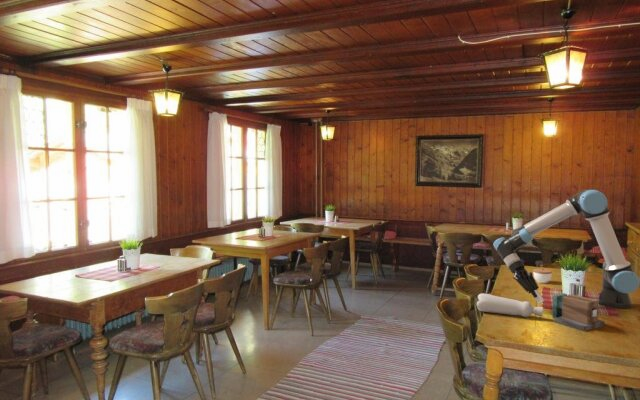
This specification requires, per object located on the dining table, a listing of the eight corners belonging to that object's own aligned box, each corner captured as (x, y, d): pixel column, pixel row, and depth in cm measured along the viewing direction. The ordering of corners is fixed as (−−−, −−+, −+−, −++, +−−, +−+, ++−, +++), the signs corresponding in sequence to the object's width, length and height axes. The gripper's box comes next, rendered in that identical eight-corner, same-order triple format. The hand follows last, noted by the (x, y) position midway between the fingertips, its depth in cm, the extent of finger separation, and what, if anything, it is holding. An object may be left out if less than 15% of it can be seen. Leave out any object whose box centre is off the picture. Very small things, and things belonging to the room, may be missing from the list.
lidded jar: (550, 285, 291) (551, 270, 290) (531, 282, 296) (532, 268, 296) (552, 281, 300) (552, 267, 299) (534, 279, 305) (534, 265, 305)
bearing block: (575, 317, 227) (576, 293, 226) (604, 325, 215) (605, 300, 214) (554, 322, 219) (555, 297, 218) (583, 331, 207) (584, 304, 206)
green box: (562, 315, 228) (563, 293, 228) (599, 325, 213) (600, 302, 212) (552, 317, 225) (553, 295, 224) (589, 328, 209) (590, 304, 208)
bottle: (475, 307, 232) (541, 318, 218) (478, 290, 236) (543, 299, 222) (477, 312, 239) (541, 323, 225) (480, 296, 243) (543, 306, 229)
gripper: (517, 266, 253) (544, 304, 239) (501, 268, 246) (528, 307, 233) (526, 258, 248) (554, 296, 234) (510, 260, 241) (538, 300, 228)
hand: (541, 302), depth 234 cm, fingers closed
